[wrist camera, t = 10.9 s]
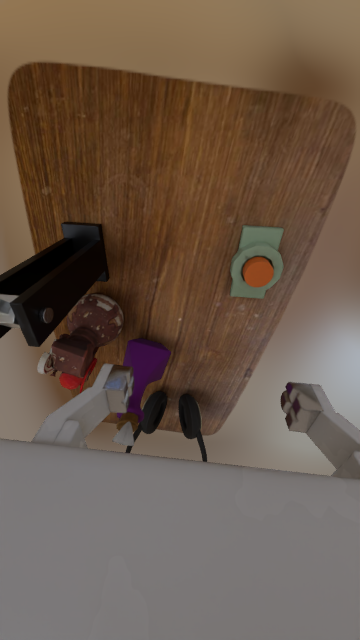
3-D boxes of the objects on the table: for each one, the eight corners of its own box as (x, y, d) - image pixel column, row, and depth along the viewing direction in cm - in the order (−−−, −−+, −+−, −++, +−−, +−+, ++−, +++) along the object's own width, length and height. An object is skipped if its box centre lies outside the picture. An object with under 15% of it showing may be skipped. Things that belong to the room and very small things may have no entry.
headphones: (203, 411, 54) (204, 522, 37) (141, 404, 54) (114, 510, 38) (209, 388, 49) (213, 504, 32) (140, 380, 49) (109, 491, 33)
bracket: (61, 221, 31) (-62, 277, 17) (105, 224, 31) (19, 283, 16) (74, 275, 36) (-13, 356, 21) (112, 278, 35) (50, 362, 21)
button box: (236, 224, 30) (239, 229, 28) (287, 228, 29) (294, 233, 27) (224, 293, 35) (226, 301, 33) (267, 296, 35) (271, 304, 33)
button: (245, 255, 30) (247, 260, 28) (273, 257, 29) (277, 262, 28) (240, 280, 32) (241, 286, 30) (266, 282, 32) (269, 288, 30)
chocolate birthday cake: (122, 336, 42) (90, 409, 30) (78, 323, 41) (26, 392, 29) (133, 294, 37) (99, 362, 25) (83, 277, 36) (21, 339, 24)
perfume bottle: (163, 366, 46) (145, 464, 31) (126, 356, 45) (90, 452, 30) (173, 339, 42) (157, 438, 27) (133, 328, 41) (94, 423, 26)
